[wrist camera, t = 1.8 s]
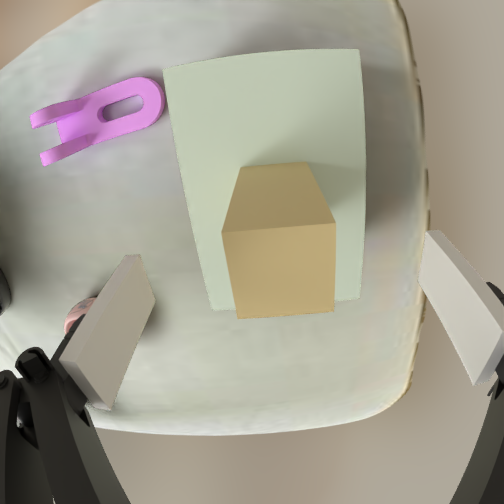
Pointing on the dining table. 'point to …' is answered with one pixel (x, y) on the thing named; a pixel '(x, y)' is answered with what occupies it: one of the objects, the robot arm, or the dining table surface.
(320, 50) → the lid
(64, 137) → the bracket
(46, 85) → the dining table surface
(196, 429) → the dining table surface
